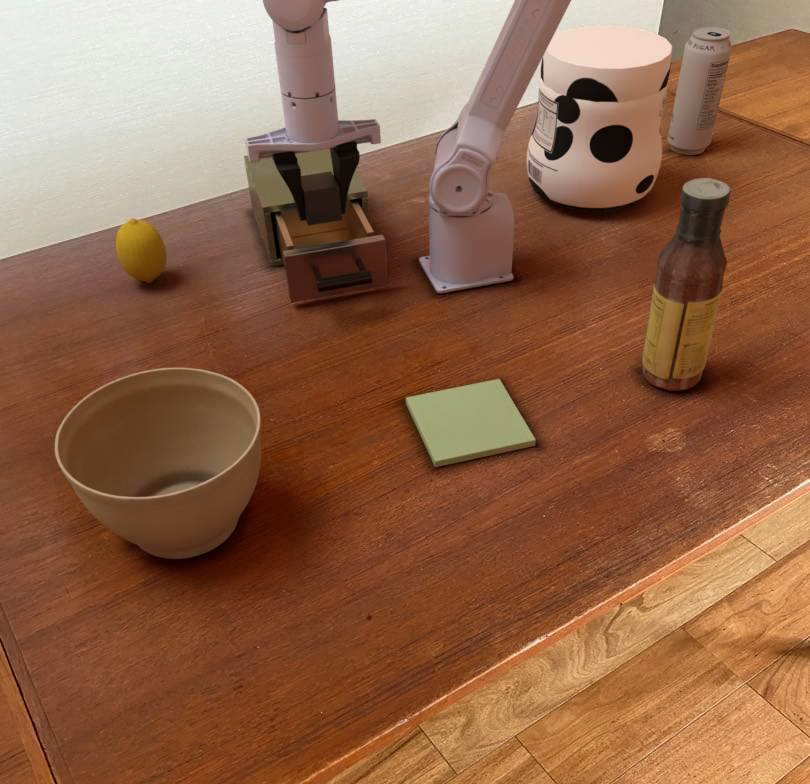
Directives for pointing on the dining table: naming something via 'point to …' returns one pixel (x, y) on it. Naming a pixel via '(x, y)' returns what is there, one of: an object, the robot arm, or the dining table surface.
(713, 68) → the energy drink can
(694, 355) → the sauce bottle
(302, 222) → the cabinet drawer
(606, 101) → the milk container
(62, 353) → the dining table surface
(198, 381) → the planter bowl
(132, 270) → the lemon
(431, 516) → the dining table surface
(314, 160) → the olive box frame
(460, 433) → the plate
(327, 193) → the block
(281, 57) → the robot arm
